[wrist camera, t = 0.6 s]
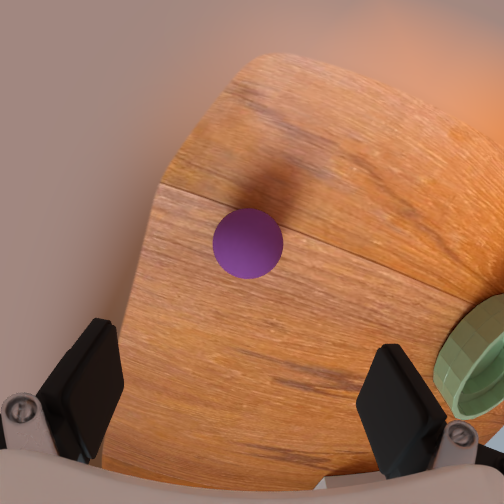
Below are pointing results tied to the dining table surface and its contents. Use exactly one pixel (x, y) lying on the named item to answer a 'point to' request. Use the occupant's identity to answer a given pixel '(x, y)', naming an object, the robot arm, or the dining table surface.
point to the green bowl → (474, 362)
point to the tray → (349, 480)
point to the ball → (247, 243)
